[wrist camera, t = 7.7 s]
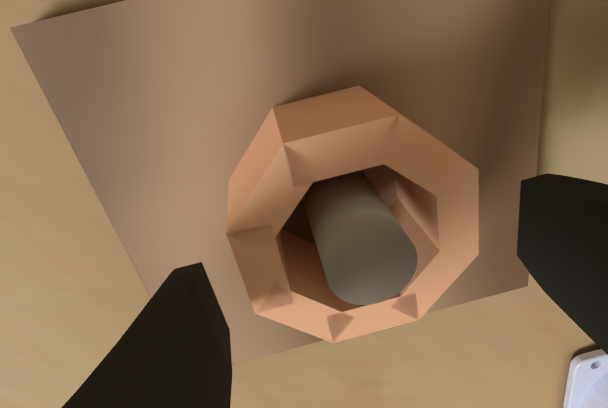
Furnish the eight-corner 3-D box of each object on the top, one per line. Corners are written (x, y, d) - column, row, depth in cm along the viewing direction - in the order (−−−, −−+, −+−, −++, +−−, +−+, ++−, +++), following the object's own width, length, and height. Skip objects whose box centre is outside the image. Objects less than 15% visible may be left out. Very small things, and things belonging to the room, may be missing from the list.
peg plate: (531, -95, 10) (748, -162, 6) (512, 270, 16) (614, 373, 12) (29, 24, 10) (-136, 48, 6) (193, 354, 16) (174, 493, 11)
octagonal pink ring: (420, 70, 11) (478, 93, 8) (432, 243, 14) (478, 304, 11) (210, 122, 11) (200, 164, 8) (265, 288, 13) (271, 359, 11)
